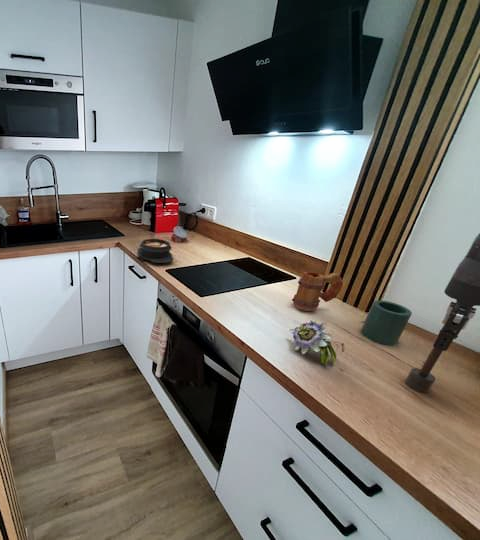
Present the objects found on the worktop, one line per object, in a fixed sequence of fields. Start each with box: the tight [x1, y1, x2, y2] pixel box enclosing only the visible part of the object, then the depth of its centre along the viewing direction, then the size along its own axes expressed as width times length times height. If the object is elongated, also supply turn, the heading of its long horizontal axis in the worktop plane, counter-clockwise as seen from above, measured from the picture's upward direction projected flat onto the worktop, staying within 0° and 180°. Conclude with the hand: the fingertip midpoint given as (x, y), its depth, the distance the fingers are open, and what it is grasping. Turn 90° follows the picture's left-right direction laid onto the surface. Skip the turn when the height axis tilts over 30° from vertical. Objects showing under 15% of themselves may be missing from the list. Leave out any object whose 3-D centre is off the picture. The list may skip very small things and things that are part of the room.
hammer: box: [404, 327, 456, 394], centre depth 70 cm, size 4×4×18 cm
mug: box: [291, 270, 344, 312], centre depth 105 cm, size 15×8×15 cm, turn 80°
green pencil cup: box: [360, 299, 413, 346], centre depth 91 cm, size 9×9×11 cm
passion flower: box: [289, 320, 346, 366], centre depth 83 cm, size 11×11×12 cm
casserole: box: [137, 238, 174, 264], centre depth 152 cm, size 25×19×8 cm
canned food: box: [170, 225, 188, 244], centre depth 183 cm, size 11×10×10 cm
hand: (441, 343), depth 68 cm, fingers open, 6 cm apart
